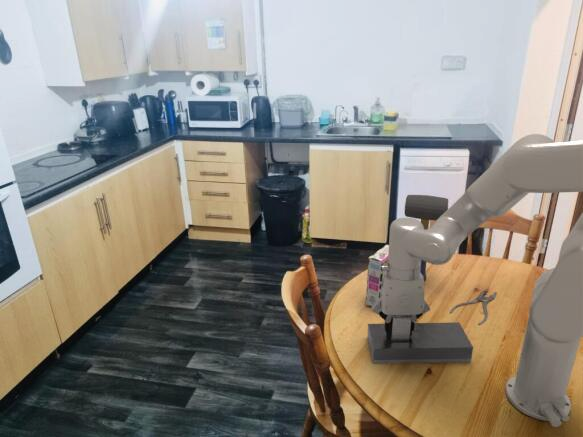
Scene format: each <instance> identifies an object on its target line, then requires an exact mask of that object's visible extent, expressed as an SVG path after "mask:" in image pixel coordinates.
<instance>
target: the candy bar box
mask: <svg viewBox="0 0 583 437" xmlns="http://www.w3.org/2000/svg"><path fill="white" fill-rule="evenodd" d="M388 254H389V244H385V245H384V246H382V247H381V248H380V249H378V250H377V251H375V253H373V254H372V255H370V256H369V257H368V262H367V264H368V266H367V277H366V278H367V280H366V293H365V294H366V298H365V306H368V307H369V308H372V306H373V305H374V304H375V303H376V301H377V300H378V299H379V298H380V292H381V285H382V281H383V277H384V274H385V272H386V271H382V265H386V264H387V261H388ZM380 309H381V307H380Z"/></svg>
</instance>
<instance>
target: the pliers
mask: <svg viewBox="0 0 583 437" xmlns="http://www.w3.org/2000/svg"><path fill="white" fill-rule="evenodd" d="M488 291H489V288H485V289H484V290H483V291H481V292H480V293H479V295H478V296H477V297H476V298H475V299H474V300H470V301H466V302H461V303H458V304H456V305H455V306H453V307H452V308H451V310H450V311H449V313H450V314H452V313H453V312H454V311H455V310H456V309H458V308H459V307H463V306H467V305H475V304H478V303H480V302H481V303H482V306H481V307H482V309H483V313H484V318H483V319H482V321H480V322H478V323H477V324H478V325H477V326H481V325H483V324H484V323H485V322H486V321H487V319H488V316H489V314H488V313H489V311H488V308H487V305H488V304H489V302H492V301H493V300H495V299H496V296H497V293H498V292H497V291H495V292H493V293H492V294H490V295H489V296H486V295H487V293H488Z"/></svg>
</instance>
